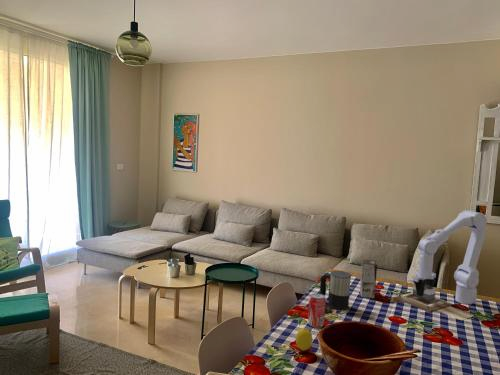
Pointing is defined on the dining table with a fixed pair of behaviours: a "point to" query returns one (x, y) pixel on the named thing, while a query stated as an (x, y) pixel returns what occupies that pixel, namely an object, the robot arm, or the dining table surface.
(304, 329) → the lemon
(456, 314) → the stand
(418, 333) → the dining table surface
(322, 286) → the milk frother
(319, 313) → the soda can
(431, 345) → the dining table surface
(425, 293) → the housing
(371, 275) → the coffee box
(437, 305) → the square wooden tray
